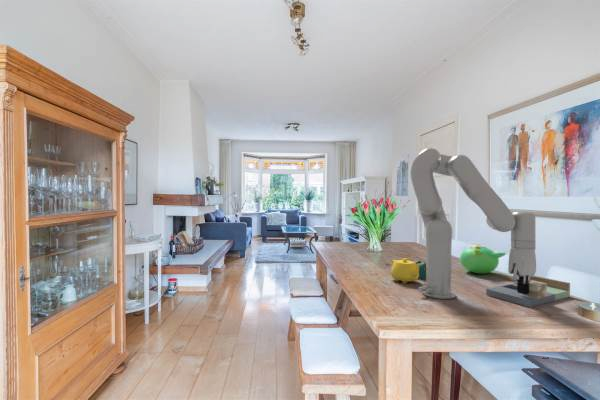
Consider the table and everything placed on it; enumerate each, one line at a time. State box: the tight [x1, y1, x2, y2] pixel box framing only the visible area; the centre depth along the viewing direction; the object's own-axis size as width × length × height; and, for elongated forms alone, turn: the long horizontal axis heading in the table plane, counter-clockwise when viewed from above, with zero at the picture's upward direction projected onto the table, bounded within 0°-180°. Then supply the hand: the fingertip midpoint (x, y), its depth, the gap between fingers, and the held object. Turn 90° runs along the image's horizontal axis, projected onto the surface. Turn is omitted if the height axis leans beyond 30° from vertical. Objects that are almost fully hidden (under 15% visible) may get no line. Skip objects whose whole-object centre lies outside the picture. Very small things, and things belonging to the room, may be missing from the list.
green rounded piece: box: [459, 244, 507, 274], centre depth 162 cm, size 18×17×15 cm
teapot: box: [390, 258, 421, 285], centre depth 146 cm, size 18×11×11 cm, turn 28°
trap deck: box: [485, 275, 571, 308], centre depth 124 cm, size 28×16×6 cm, turn 116°
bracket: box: [413, 260, 426, 280], centre depth 157 cm, size 18×7×8 cm, turn 113°
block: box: [524, 280, 547, 298], centre depth 117 cm, size 5×5×5 cm
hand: (523, 293), depth 116 cm, fingers closed
